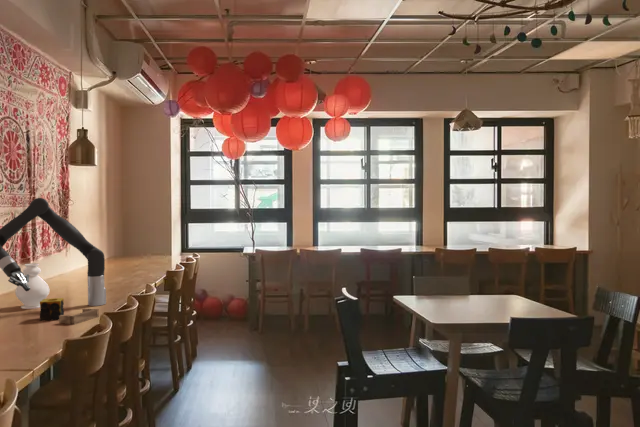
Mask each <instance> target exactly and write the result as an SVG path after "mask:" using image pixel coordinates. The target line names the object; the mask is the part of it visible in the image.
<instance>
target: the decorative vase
mask: <svg viewBox="0 0 640 427" xmlns="http://www.w3.org/2000/svg"><path fill="white" fill-rule="evenodd" d="M24 266H25V268H24V269H22V272H23V273H24V275H27V274H28V275H29V282H28V283H27V284H28V285H29V287H30V290H29V291H25V290H24V288H23V287H21V286H17V285H16V287H15V296H16V298H17V299H18V300H19V301H20V302H21V303H22V304H23V305H21V306H20V309H23V310H31V309H33V310H34V309H39V308H40V309H41V307H40V301H42V300H43V299H47V297H48V295H50V291H51V290H50V286H49V284H48V283H47V282H46V281H45V280H44V279H43V278H42V277H41V276H40V274H41V272H42V269H41V267H40V263H34V262H33V263H25V264H24Z"/></svg>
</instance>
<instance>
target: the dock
mask: <svg viewBox="0 0 640 427" xmlns="http://www.w3.org/2000/svg"><path fill="white" fill-rule="evenodd" d="M99 310H100V309H99V308H84V307H83V308H82V312H80V313H77V314H73V315H69V314H67V315H66V314H64V315H60V316H59V321H58V322H59V323H65V324H64V325H77V324H80V323H82V322H86V321H89V319H90V320H93V319H96V318H99V316H100V315H99V314H100V311H99Z"/></svg>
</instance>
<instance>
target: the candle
mask: <svg viewBox="0 0 640 427" xmlns="http://www.w3.org/2000/svg"><path fill="white" fill-rule="evenodd" d="M64 302H65V299H64V297H59V298H58V297H57V298H56V297H52V298H46V299H43V300H42V301H40V311H39V321H41V322H43V321H42V320H47V321H56V320H55V319H59V316H60V315H65V314H64V312H65V310H64Z"/></svg>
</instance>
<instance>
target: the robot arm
mask: <svg viewBox="0 0 640 427" xmlns="http://www.w3.org/2000/svg"><path fill="white" fill-rule="evenodd" d="M36 217H39V218H40V219H41V220H42V221H44V222H45V223H46V224H48V226H49V227H50V228H51V229H52V230H53V231H54V232H55V233H56V234H57V235H58V236H59V237H60V238H62V240H64V241H65V242H67V244H69V245H71V246H72V247H74V248H75V249H76V250H78V251H79V252H80V253H81V254H82V256H84V257H85V258H86V260H87V272H86V273H87V305H88V306H90V307H92V306H93V307H96V306H103V305H106V304H107V288H106V287H105V270H106V268H105V261H106V259H105V258H106V257H105V253H104V252H103V251H102V250H101V249H100V248H97V247H96V246H94V244H92V243H91V242H89V241H88V240H87V239H86V238H85V237H84V235H83V234H82V233H81V231H80V230H78V228H76V226H74V225H73V224H72V223H71V222H69V221H68V220H67V219H65V218H64V217H63V216H60V215H59V214H57V212H55V211H54V210H53V209H52V208H51V207H50V205H49V202H48V200H46V199H45V198H44V197H35V198H34V199H32V201H31V202H30V204H29V205H28V207H27V208H26V209H24V211H22V212H21V213H20V214H18V215H17V216H15V217H13V219H11V220H10V221H8V222H7V223H6V224H5V225H3V226H2V227H1V228H0V269H1V270H2V271H3V273H4V274H5V275H6V276H7V277H8V278H9V279H8V282H9V283H11V284H13V285H15V286H16V287H17V286H21V287H23V288H24V290H25V291H29V290H30V287H29V285H28V284H27V283H28V282H29V275H28V274H27V275H25V274H24V273H23V271H22V270H21V266H20V265H19V264H18V263H17V262H16V260H15V259H14V258H12V256H11V255H10V254H9V253H8V252H7V251H6V250H5V249H4V246H5V244H6V243H7V242H8V241H9V240H10V239H11V238H12V237H13V236H15V235H16V234H17V233H18V232H19V231H20V230H22V229H23V228H24V227H25V226H26V225H27V224H28V223H29V222H31V221H32V220H34V219H35V218H36Z"/></svg>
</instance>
